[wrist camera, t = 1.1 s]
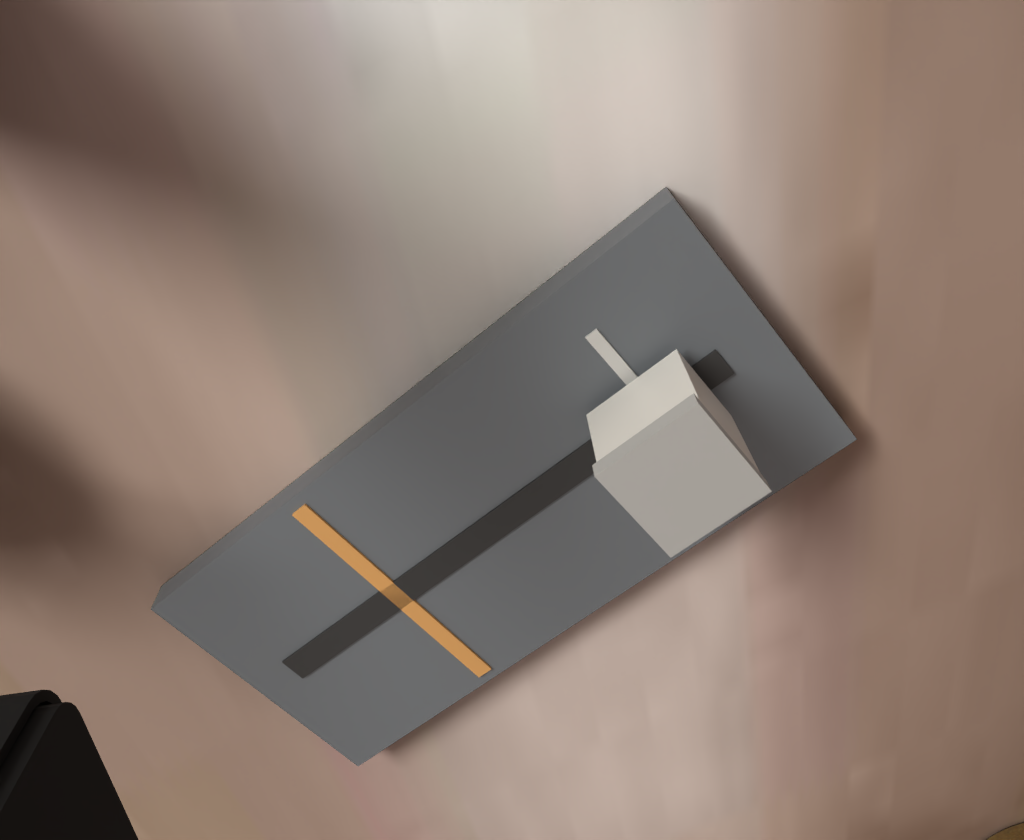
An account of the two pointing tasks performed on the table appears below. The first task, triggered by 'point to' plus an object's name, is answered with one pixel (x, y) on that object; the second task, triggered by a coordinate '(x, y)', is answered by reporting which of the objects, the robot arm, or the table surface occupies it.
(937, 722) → the table surface
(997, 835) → the plant pot
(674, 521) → the fader tab
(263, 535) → the fader console
